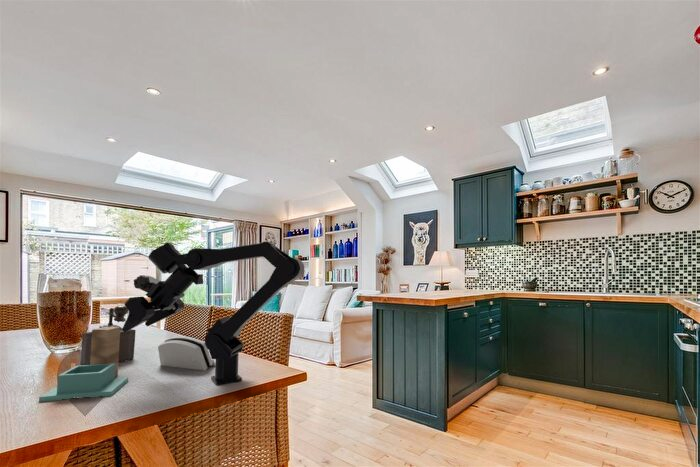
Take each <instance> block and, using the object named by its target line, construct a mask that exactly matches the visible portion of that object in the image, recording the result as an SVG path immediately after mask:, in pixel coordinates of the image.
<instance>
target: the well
mask: <svg viewBox="0 0 700 467" xmlns="http://www.w3.org/2000/svg"><path fill="white" fill-rule="evenodd" d="M115 364H116V363H112V364H95V365H82V364H79V365H75V366H73V367H71V368H70V369H68V370H66V371H64V372H62V373H60V374H59V375H57V386H55V387H53V388H52V389H51V390H48V391H47V392H45V393H43V394H42V395H40V396H39V397H38V403H39V402H40V403H41V402H52V401H53V402H55V401H63V400H62V399H67V400H71V399H70V398H74V397H75V398H77V397H91V398H100V397H99V396H103V397H111V396H112V397H113V395H114V394H115V393H116V392H118V391H119V390H120V389H121V388H122V387H123V386H124V385H126V383H128V382H129V376H128V377H127V376H126V377H116V376H115Z"/></svg>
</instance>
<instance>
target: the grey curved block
mask: <svg viewBox="0 0 700 467" xmlns="http://www.w3.org/2000/svg"><path fill="white" fill-rule="evenodd" d="M157 350H158V355H159V356H158V357H159V363H160V366H164V367H171V368H172V367H173V368H181V369H189V370H197V371H206V370H208V367H215V362H216V360H215V359H212V358H211V355H210V352H209V349H207V347H206V345H205V341H202V340H200V339H198V338H195V337H192V336H191V337H190V336H183V335H182V336H175V337H174V336H173V337H170V338H167V339H166V340H164V341H163V342H161V343H160V344H159V345H158V347H157Z"/></svg>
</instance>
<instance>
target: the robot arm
mask: <svg viewBox="0 0 700 467" xmlns="http://www.w3.org/2000/svg"><path fill="white" fill-rule="evenodd" d="M259 258H265V259H266V260H267V262H268V263H270V264H271V265H272V266H273V267H274V269H273V271H272V273H271V275H270V277H269V279H268V280H267V281H266V282H265V283H264V284H263V285H262V286H261V287H260V288H259V289H258V290H257V291H256V292H255V293H254V294H253V295H252V296H251V297H250V298H249V299H248V300H247V301H245V303H243V305H242V306H241V307H240V308H239V309H238V310H237V311H235V313H234V314H233V315H232V316H231V317H229V316H228V315H227V316H224V317H221V318H218V319H217V320H216V321H215V323H214V324H213V325H212V326H211V327H210V328H207V330H206V331H207V332H206V334H205V337H204V342H205V345H206V347H207V349H208V351H209V354H210V357H211V360H215V366H214V367H215V369H214V375H211V376H210V379H211V380H212V381H213V383H214V384H215V385H222V384H228V383H234V382H239V381H243V378H242V377H241V376H240V375H239V354H240V353H241V352H242V351H243V348H244V347H245V344H244V343H243V342H242V340H240V339H239V338H238V337H239V335H240V334H241V332H242V331H243V329H244V327H245V325H247V324H248V322H250V320H252V318H254V317H255V316H256V315H257V314H258V313H259V311H261V310H262V308H264V306H266V305H267V304H268V303H269V302H270V301H271V300H272V299H273V298H275V296H276V295H277V294H278V293H279V292H280V291H281V290H282V289H284V288H286V287H287V286H289V285H291V284H292V283H293V282H295V281H296V280H298V279H299V278H301V277H302V276H303V274H304V272H305V264H304V262H303V261H302V260H301V259H299V258H296V257H292V256H290V255H289V254H287V253H286V252H285V251H283V250H281V249H280V248H278V247H277V246H276V244H274V243H273V242H270V241H262V242H259V243H254V244H253V243H252V244H245V245H238V246H232V247H225V248H198V247H197V248H196V247H195V248H191V249H190V250H188V252H187V253H182V254H181V252H180V251H178V249H177V248H176V247H175V246H174V244H173V243H172V242H165V243H164V244H163V245H161V246H159V247H156V248H155V249H153V250H152V251H151V252H150V253H149V255H148V260H149V261H150V262H152V264H153V265H154V266H155V267H156V268H157V269H158V270H159V271H160V272H161V273H162V274H170V275H169V276H168V277H167V278H166V279H165V280H162V281H161V280H159V279H157V278H155V277H153V276H151V275H145V274H143V275H141V274H140V275H139V276H137V277H136V278H135V279H133V285H134V288H135V289H138V290H141V291H143V292H145V293H146V294H145V295H146V297H147V298H149V299H150V300H149V301H148V299H146V298H145V297H144V296H142V295H141V296H131V297H129V298H128V299H127V300H126V301H125V302H124V306H126V308H127V309H128V313H127V318H126V321H125V322H124V324H123V326H122V327H121V328H122V330H123V331H124V332H127V331H129V330H131V329H132V330H134V328H137V327H138V326H140V325H142V324H145V325H144V326H146V327H150V326H152V325H154V324H157V323H158V322H160V321H162V320H163V321H164V320H165V319H167V318H169V317H171V316H174V315H176V314H177V313H180V312H181V311H182V310H183V309H184V308H185V302H184V301H183V300H182V298H184V296H185V295H186V294H185V292H187V290H188V289H190V287H191V286H192V285H193V284H195V285H196V286H197V285H198V286H199V285H203V284H204V274H202V273H200V274H199V273H198V272H197V271H208V270H211V269H213V268H217V267H219V266H221V265H223V264H227V263H231V262H232V263H233V262H238V261H240V262H241V261H247V260H253V259H259Z"/></svg>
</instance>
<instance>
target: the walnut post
mask: <svg viewBox="0 0 700 467" xmlns="http://www.w3.org/2000/svg"><path fill="white" fill-rule="evenodd" d="M101 327H102V326H101ZM120 327H121V326H120ZM120 327H102V328H99V327H98V328H93V329H91V332H92V341H91V356H90V365H95V364H112V363H116V364H115V377H118V375H119V373H118V372H119V363H118V361H119V343H120Z"/></svg>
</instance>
